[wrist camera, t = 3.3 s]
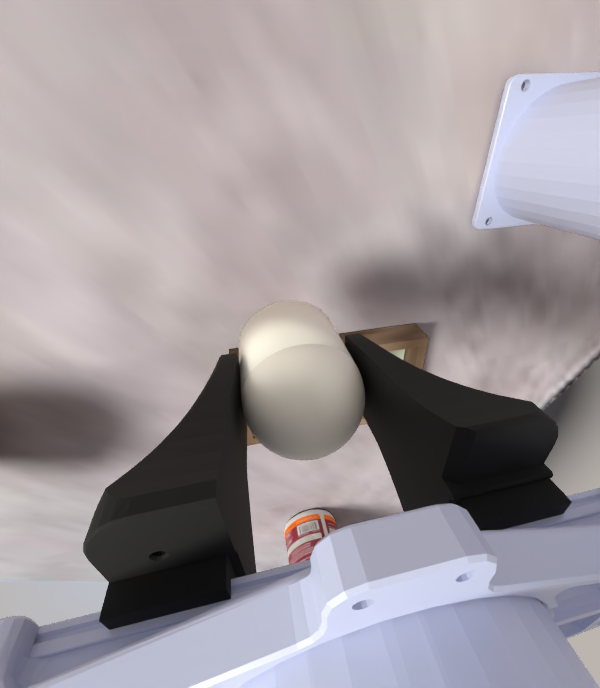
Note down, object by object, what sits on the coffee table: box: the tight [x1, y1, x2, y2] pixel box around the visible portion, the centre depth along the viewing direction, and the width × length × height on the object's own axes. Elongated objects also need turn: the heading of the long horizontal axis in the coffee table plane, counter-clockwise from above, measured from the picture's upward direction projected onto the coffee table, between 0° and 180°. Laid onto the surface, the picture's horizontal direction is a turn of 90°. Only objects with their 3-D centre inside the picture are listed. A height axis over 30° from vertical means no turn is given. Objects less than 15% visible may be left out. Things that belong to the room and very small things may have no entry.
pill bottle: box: [285, 509, 337, 565], centre depth 33 cm, size 6×6×11 cm
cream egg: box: [239, 301, 365, 460], centre depth 12 cm, size 4×4×6 cm
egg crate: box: [229, 323, 429, 446], centre depth 25 cm, size 14×8×2 cm, turn 92°
